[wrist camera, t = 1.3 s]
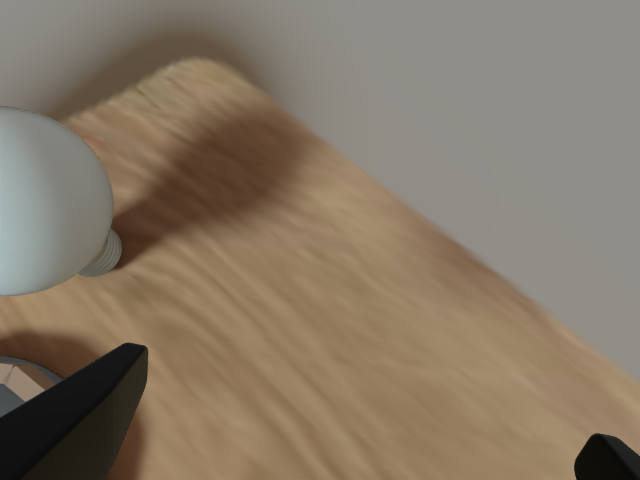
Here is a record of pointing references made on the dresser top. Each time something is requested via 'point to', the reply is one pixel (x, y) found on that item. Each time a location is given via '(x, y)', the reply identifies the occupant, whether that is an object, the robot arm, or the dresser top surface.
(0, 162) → the lightbulb
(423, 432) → the dresser top surface
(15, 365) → the round dish
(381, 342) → the dresser top surface
